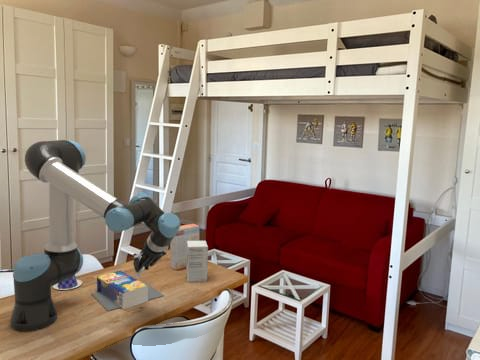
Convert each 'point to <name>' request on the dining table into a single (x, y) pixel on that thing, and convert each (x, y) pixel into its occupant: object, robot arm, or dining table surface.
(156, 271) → the dining table surface
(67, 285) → the pudding
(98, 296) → the mat
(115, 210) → the robot arm
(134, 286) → the beverage box
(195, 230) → the cracker box
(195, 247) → the supplement box
